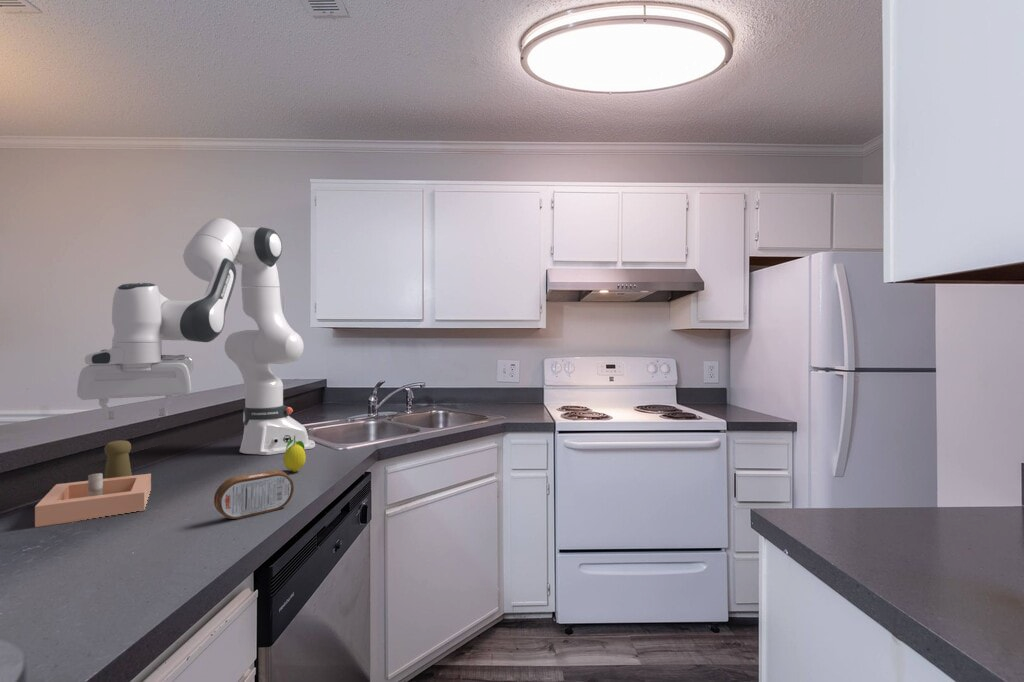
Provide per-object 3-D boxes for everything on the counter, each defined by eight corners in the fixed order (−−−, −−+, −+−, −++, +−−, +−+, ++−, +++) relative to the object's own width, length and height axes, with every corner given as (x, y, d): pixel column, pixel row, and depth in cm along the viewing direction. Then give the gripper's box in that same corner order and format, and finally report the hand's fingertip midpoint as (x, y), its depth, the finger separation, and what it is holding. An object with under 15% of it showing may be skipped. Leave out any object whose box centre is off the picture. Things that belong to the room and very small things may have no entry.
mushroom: (127, 496, 114) (127, 466, 114) (121, 509, 106) (121, 476, 106) (69, 504, 109) (69, 472, 109) (59, 518, 101) (59, 484, 101)
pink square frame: (150, 490, 119) (150, 473, 119) (144, 511, 105) (144, 492, 105) (56, 502, 110) (56, 484, 110) (35, 527, 96) (34, 506, 96)
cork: (116, 490, 119) (116, 444, 119) (95, 488, 121) (95, 443, 120) (139, 483, 125) (139, 439, 125) (119, 481, 126) (119, 438, 126)
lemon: (285, 476, 132) (285, 438, 132) (278, 472, 136) (278, 435, 136) (310, 472, 136) (311, 435, 136) (303, 467, 140) (303, 432, 140)
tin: (290, 503, 111) (290, 465, 111) (295, 507, 108) (295, 468, 108) (213, 520, 100) (213, 479, 100) (217, 525, 98) (217, 482, 98)
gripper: (192, 354, 119) (193, 411, 119) (81, 355, 108) (81, 419, 109) (192, 355, 114) (192, 415, 114) (75, 356, 103) (75, 423, 103)
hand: (137, 417), depth 111 cm, fingers open, 8 cm apart
